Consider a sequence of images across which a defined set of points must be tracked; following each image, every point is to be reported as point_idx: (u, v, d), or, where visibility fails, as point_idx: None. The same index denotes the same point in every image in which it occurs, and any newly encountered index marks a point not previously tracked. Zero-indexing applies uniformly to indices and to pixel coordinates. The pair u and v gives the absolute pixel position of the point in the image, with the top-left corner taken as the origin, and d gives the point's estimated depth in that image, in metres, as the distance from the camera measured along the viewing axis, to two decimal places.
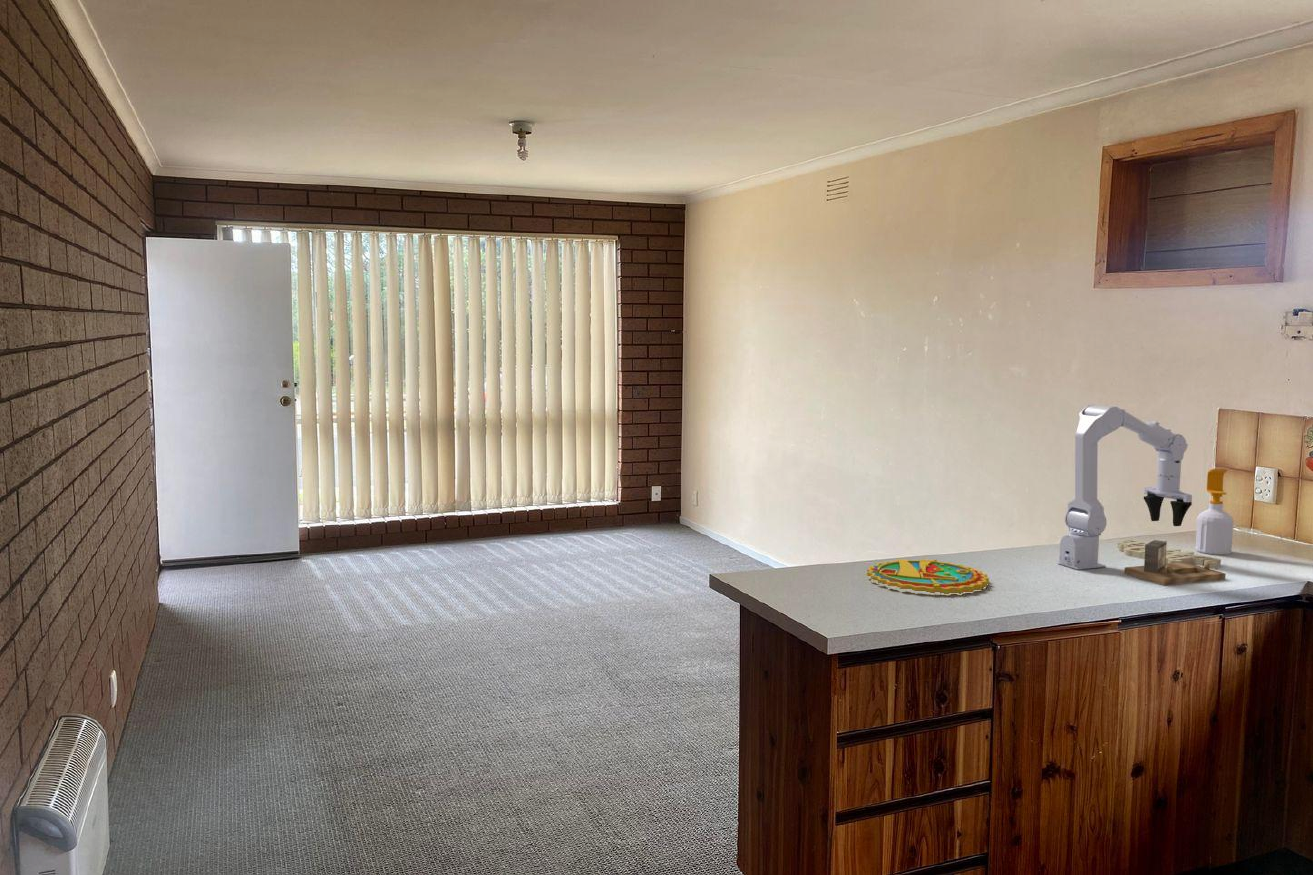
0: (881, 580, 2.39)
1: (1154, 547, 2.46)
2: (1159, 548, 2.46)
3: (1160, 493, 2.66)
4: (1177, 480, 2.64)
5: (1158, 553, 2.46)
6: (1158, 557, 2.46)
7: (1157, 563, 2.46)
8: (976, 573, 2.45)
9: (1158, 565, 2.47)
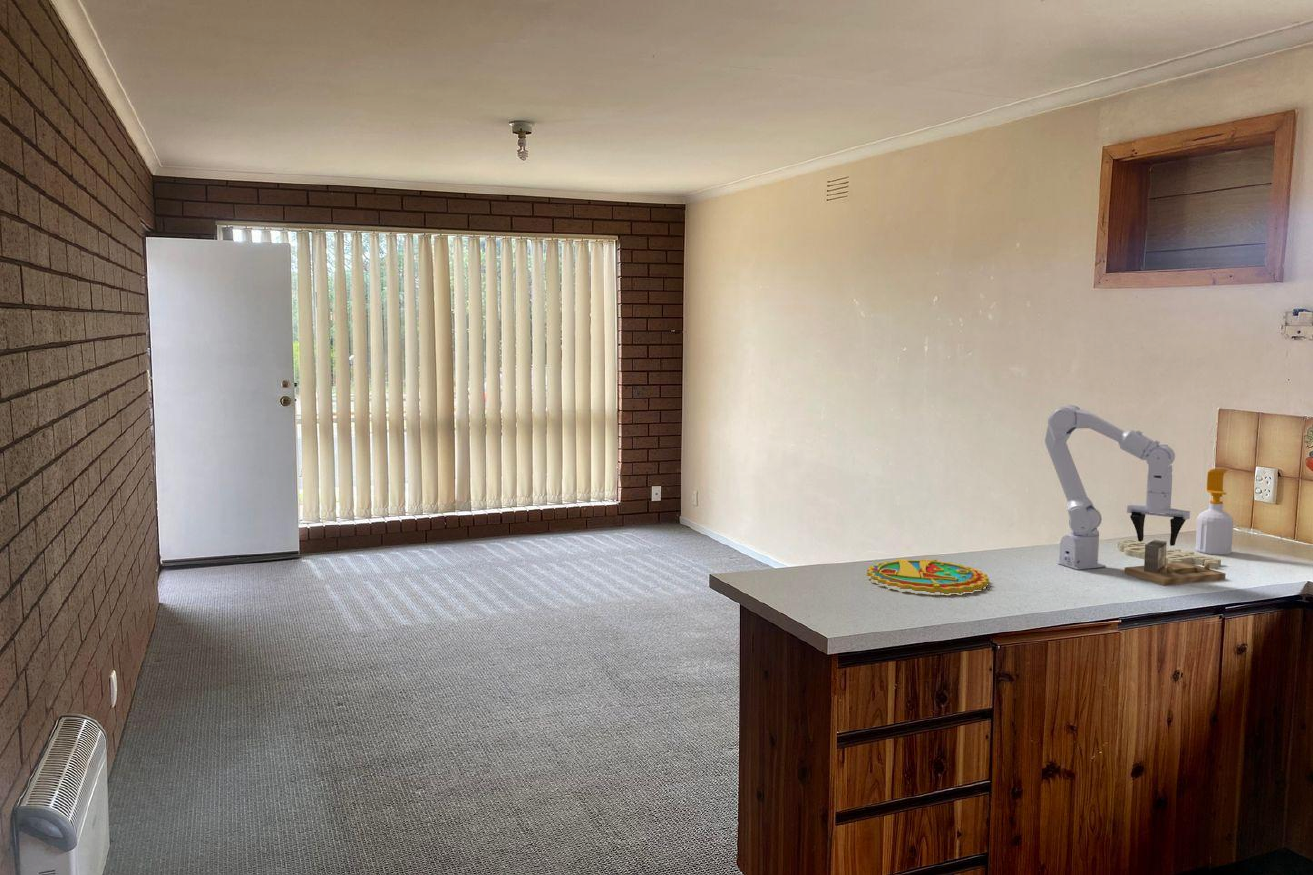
0: (881, 580, 2.39)
1: (1154, 547, 2.46)
2: (1159, 548, 2.46)
3: (1156, 511, 2.46)
4: (1170, 496, 2.46)
5: (1158, 553, 2.46)
6: (1158, 557, 2.46)
7: (1157, 563, 2.46)
8: (976, 573, 2.45)
9: (1158, 565, 2.47)
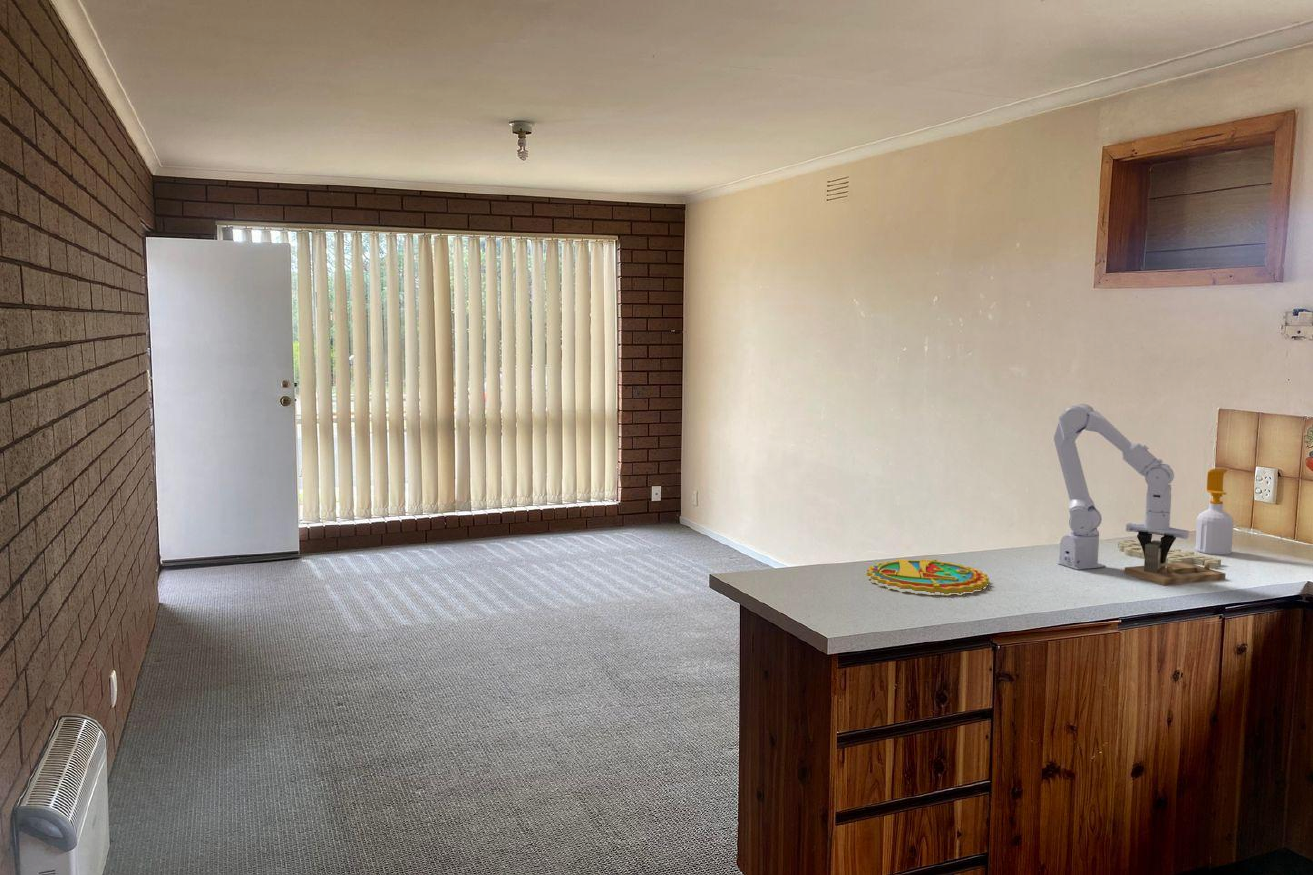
0: (881, 580, 2.39)
1: (1154, 547, 2.46)
2: (1159, 548, 2.46)
3: (1155, 530, 2.46)
4: (1169, 515, 2.47)
5: (1158, 553, 2.46)
6: (1158, 557, 2.46)
7: (1157, 563, 2.46)
8: (976, 573, 2.45)
9: (1158, 565, 2.47)
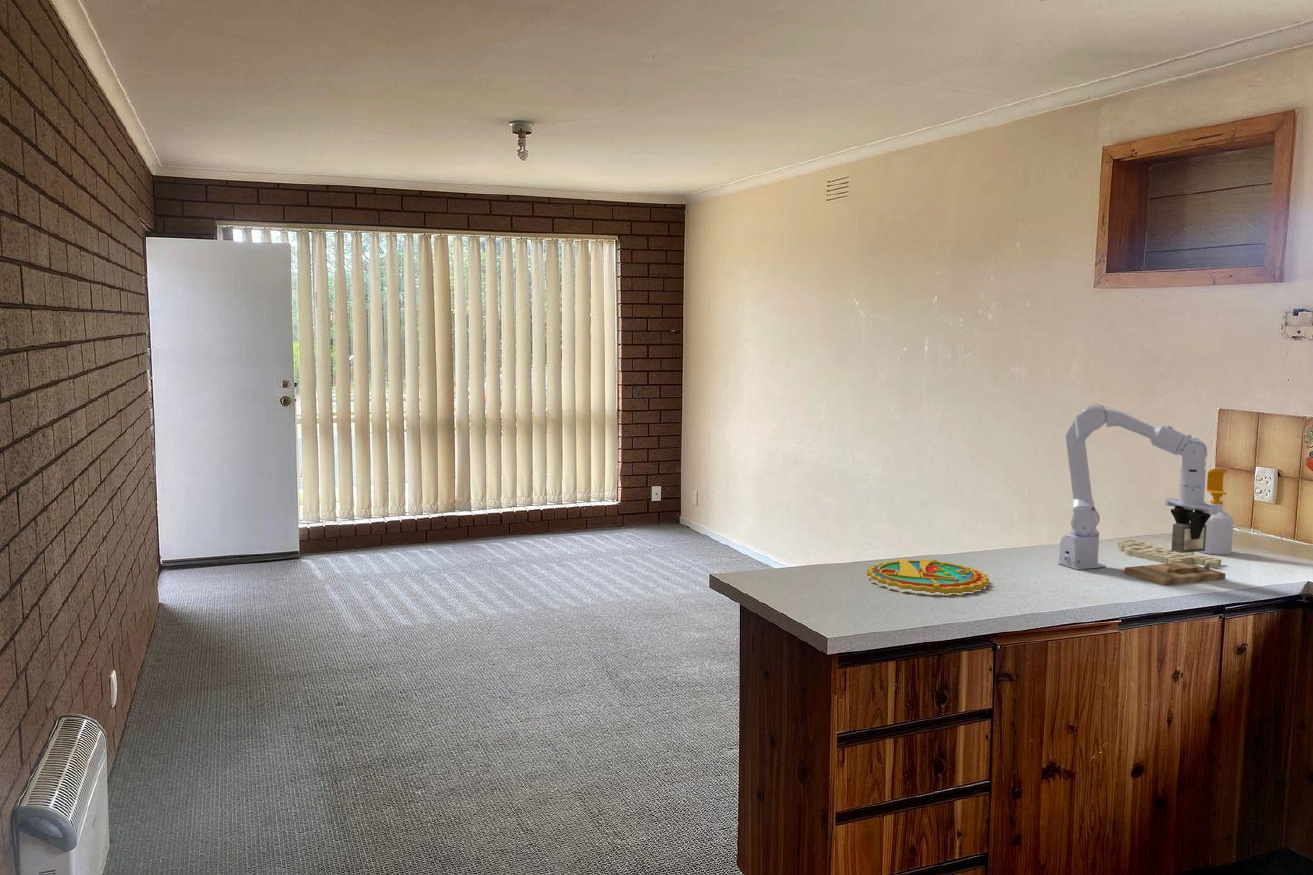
0: (881, 580, 2.39)
1: (1179, 527, 2.45)
2: (1186, 528, 2.45)
3: (1183, 505, 2.45)
4: (1201, 491, 2.43)
5: (1184, 533, 2.45)
6: (1184, 537, 2.45)
7: (1183, 543, 2.45)
8: (976, 573, 2.45)
9: (1185, 546, 2.45)
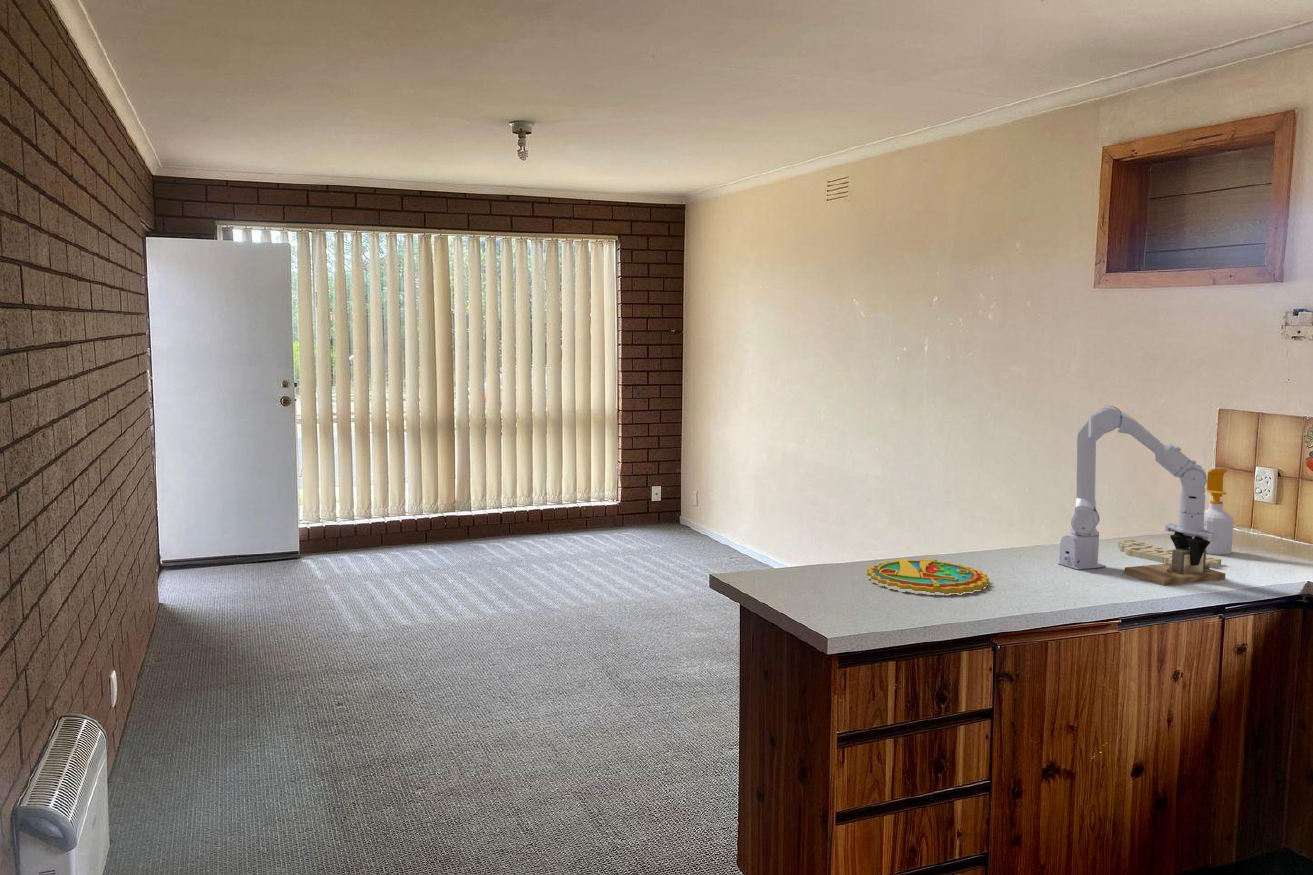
0: (881, 580, 2.39)
1: (1179, 552, 2.46)
2: (1186, 554, 2.46)
3: (1182, 531, 2.46)
4: (1201, 517, 2.44)
5: (1184, 559, 2.46)
6: (1184, 563, 2.46)
7: (1182, 569, 2.46)
8: (976, 573, 2.45)
9: (1185, 571, 2.46)
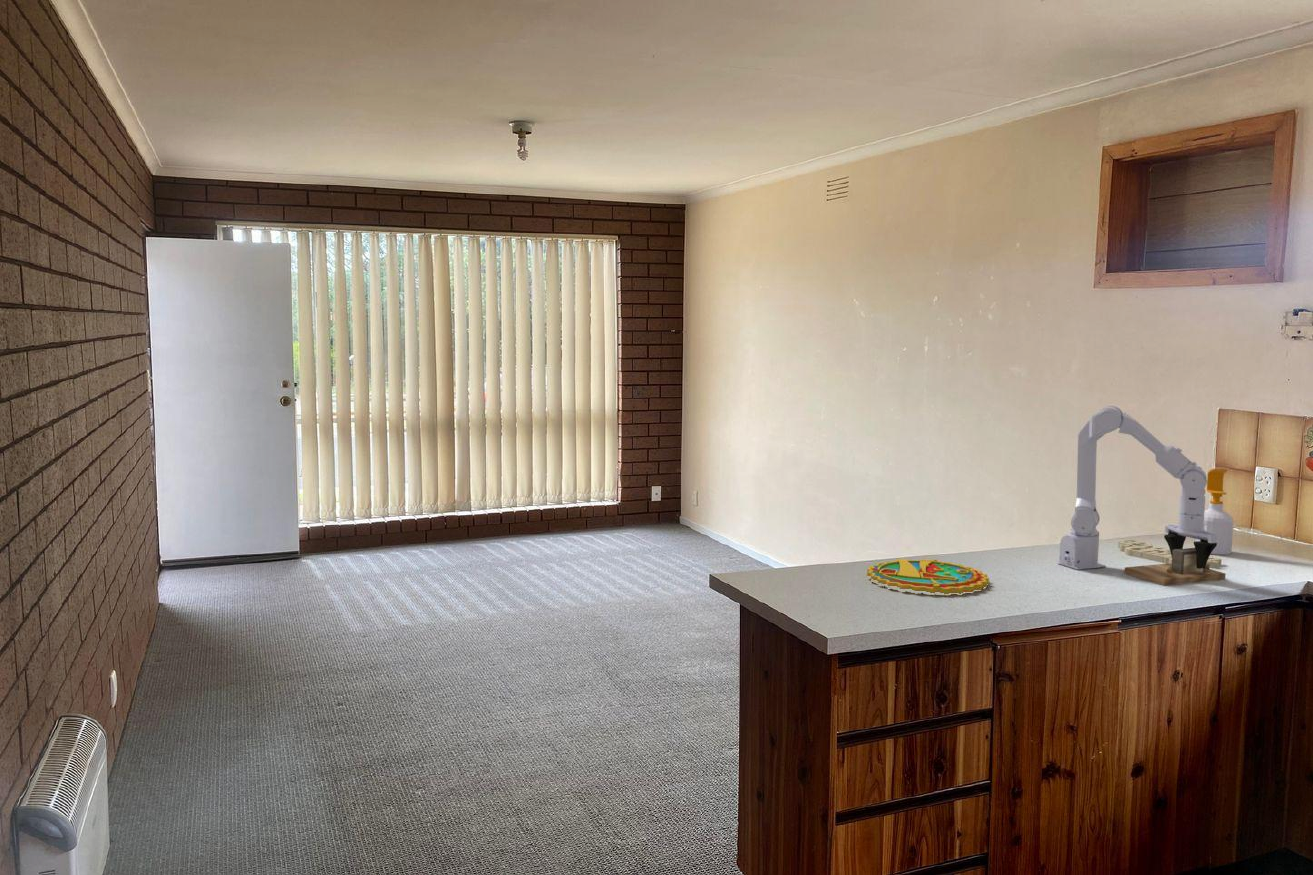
0: (881, 580, 2.39)
1: (1179, 552, 2.46)
2: (1186, 554, 2.46)
3: (1182, 532, 2.46)
4: (1201, 519, 2.44)
5: (1184, 559, 2.46)
6: (1184, 563, 2.46)
7: (1182, 569, 2.46)
8: (976, 573, 2.45)
9: (1185, 571, 2.46)
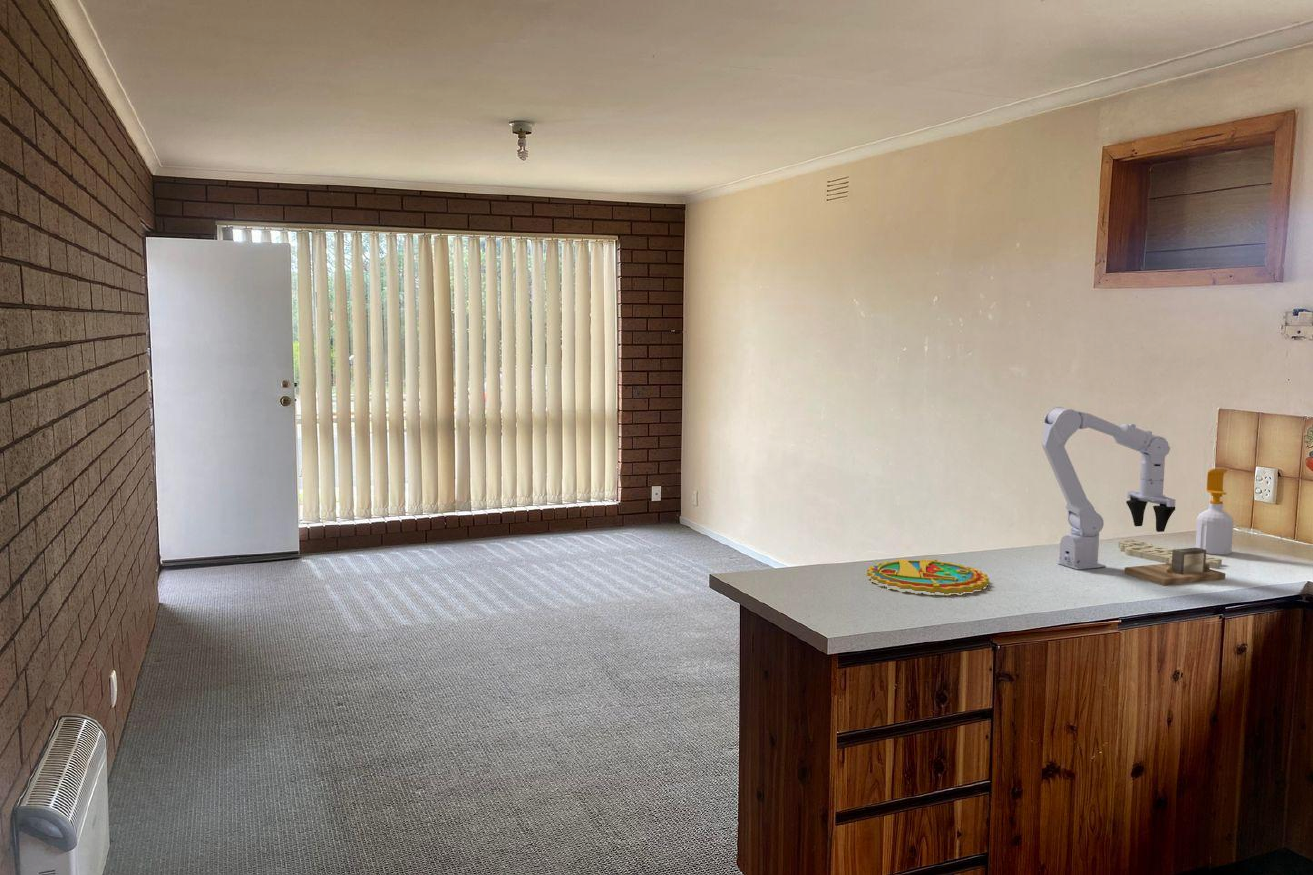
0: (881, 580, 2.39)
1: (1179, 552, 2.46)
2: (1186, 554, 2.46)
3: (1143, 497, 2.57)
4: (1160, 484, 2.55)
5: (1184, 559, 2.46)
6: (1184, 563, 2.46)
7: (1182, 569, 2.46)
8: (976, 573, 2.45)
9: (1185, 571, 2.46)
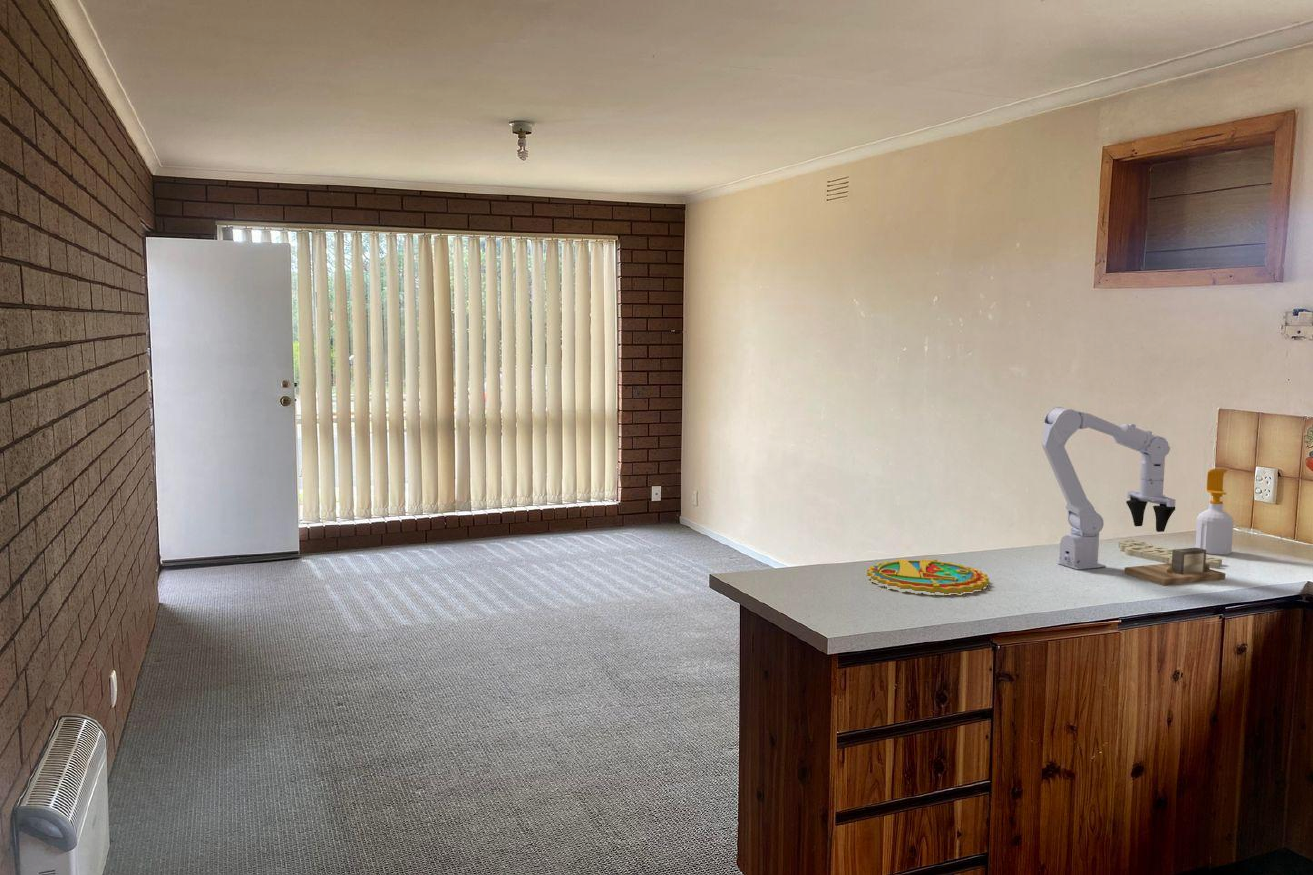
0: (881, 580, 2.39)
1: (1179, 552, 2.46)
2: (1186, 554, 2.46)
3: (1143, 497, 2.57)
4: (1160, 484, 2.55)
5: (1184, 559, 2.46)
6: (1184, 563, 2.46)
7: (1182, 569, 2.46)
8: (976, 573, 2.45)
9: (1185, 571, 2.46)
